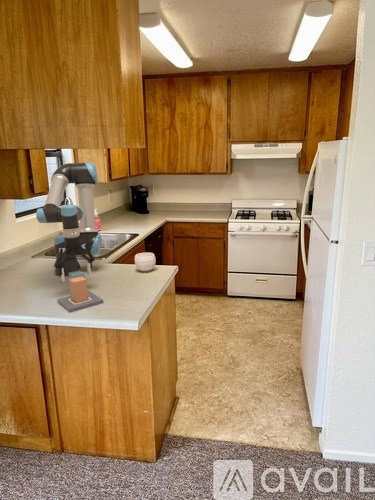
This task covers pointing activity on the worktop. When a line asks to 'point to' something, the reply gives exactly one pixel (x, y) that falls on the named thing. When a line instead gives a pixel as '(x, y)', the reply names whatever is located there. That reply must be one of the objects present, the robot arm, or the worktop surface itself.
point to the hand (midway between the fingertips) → (76, 277)
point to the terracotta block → (78, 289)
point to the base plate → (74, 306)
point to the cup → (145, 261)
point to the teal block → (76, 274)
